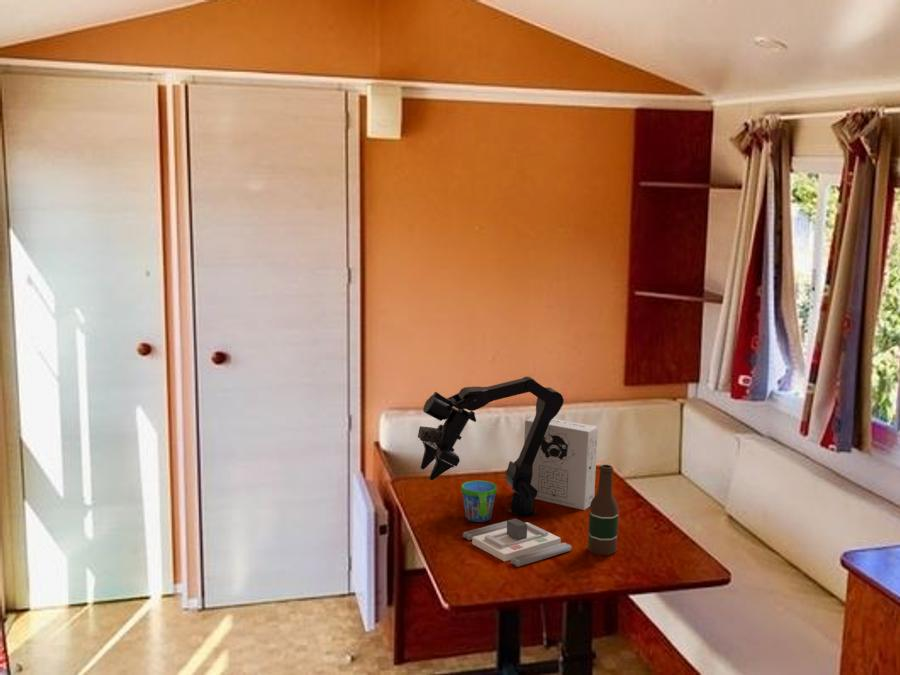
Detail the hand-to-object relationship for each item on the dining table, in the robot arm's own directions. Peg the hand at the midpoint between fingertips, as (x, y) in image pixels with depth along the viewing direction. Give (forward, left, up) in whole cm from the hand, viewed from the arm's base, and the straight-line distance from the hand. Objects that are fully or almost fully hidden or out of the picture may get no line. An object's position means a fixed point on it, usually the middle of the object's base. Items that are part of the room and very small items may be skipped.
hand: (426, 474), depth 261 cm
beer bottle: (-28, +44, -15) cm, 54 cm away
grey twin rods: (-11, +28, -14) cm, 33 cm away
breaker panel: (-11, +28, -14) cm, 33 cm away
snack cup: (-14, +7, -15) cm, 22 cm away
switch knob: (-11, +28, -12) cm, 32 cm away
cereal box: (-45, +8, -15) cm, 48 cm away
